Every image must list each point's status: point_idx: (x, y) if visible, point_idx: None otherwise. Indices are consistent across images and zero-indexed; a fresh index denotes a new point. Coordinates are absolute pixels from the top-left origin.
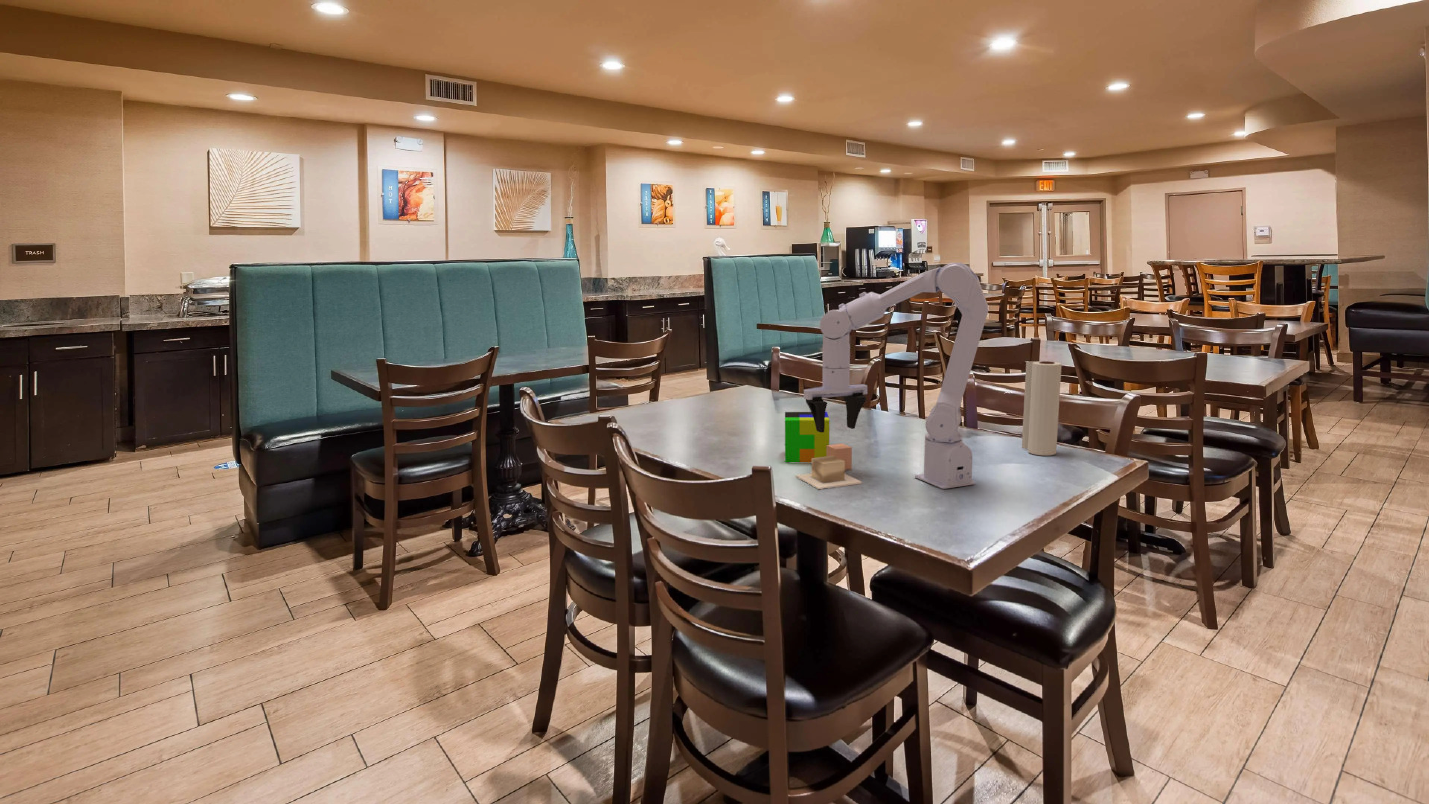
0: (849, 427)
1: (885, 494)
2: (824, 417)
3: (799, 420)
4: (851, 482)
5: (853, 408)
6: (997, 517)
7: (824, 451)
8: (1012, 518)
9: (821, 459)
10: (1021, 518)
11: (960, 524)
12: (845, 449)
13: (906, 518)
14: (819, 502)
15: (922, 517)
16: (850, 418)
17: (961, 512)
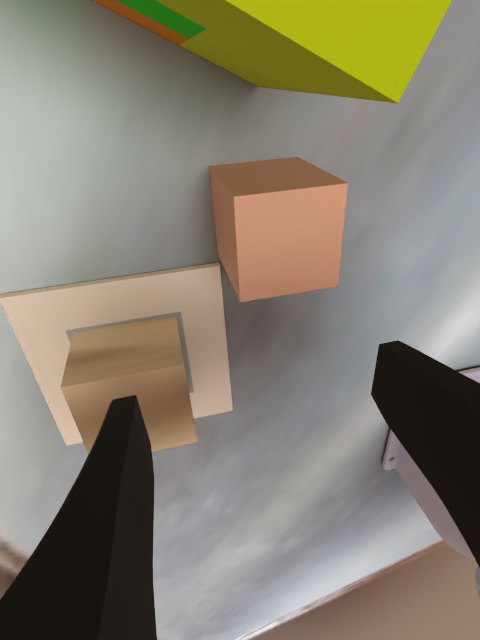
0: (377, 369)
1: (242, 480)
2: (150, 578)
3: None
4: (198, 412)
5: (478, 529)
6: (342, 567)
7: (251, 73)
8: (357, 569)
9: (106, 411)
10: (368, 568)
11: (269, 589)
12: (297, 288)
13: (201, 578)
14: (42, 519)
15: (232, 573)
16: (419, 422)
17: (310, 555)
